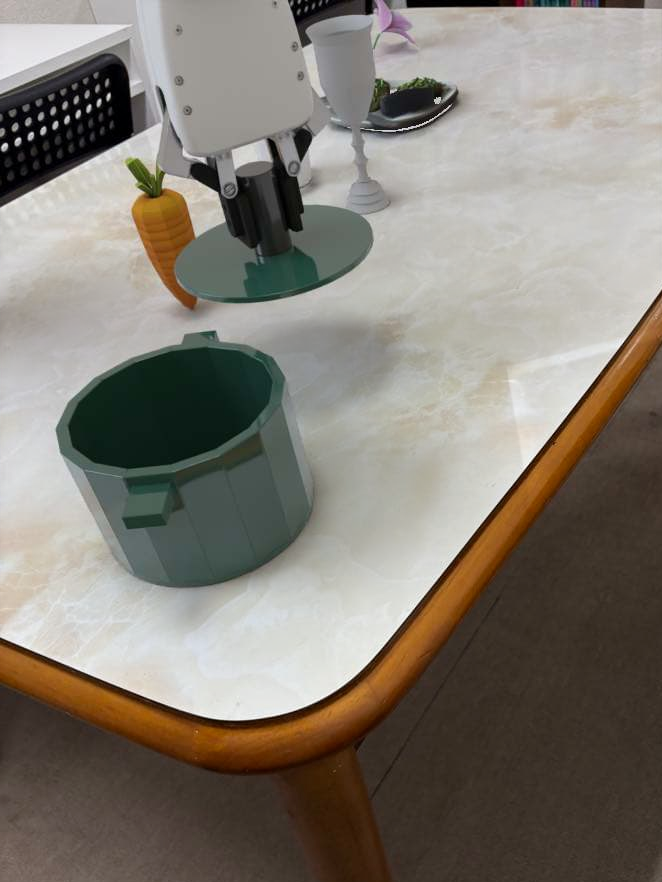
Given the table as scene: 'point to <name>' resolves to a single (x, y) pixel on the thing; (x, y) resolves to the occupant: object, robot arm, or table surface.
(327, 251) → the lid
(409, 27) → the lily
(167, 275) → the carrot
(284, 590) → the table surface
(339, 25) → the chalice
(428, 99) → the salad plate
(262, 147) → the shot glass
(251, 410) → the pot
